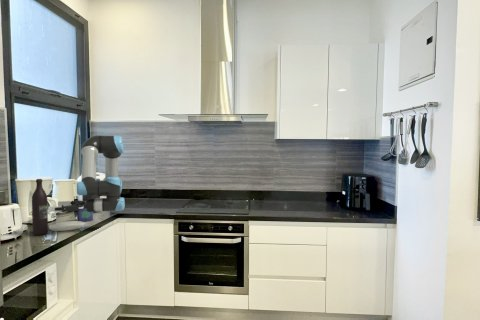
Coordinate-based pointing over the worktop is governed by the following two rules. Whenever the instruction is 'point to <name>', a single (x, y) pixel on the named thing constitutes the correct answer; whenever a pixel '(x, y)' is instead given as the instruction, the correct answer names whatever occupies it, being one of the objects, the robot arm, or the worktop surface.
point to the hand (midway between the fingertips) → (53, 206)
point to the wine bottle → (39, 210)
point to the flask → (84, 215)
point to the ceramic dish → (66, 226)
